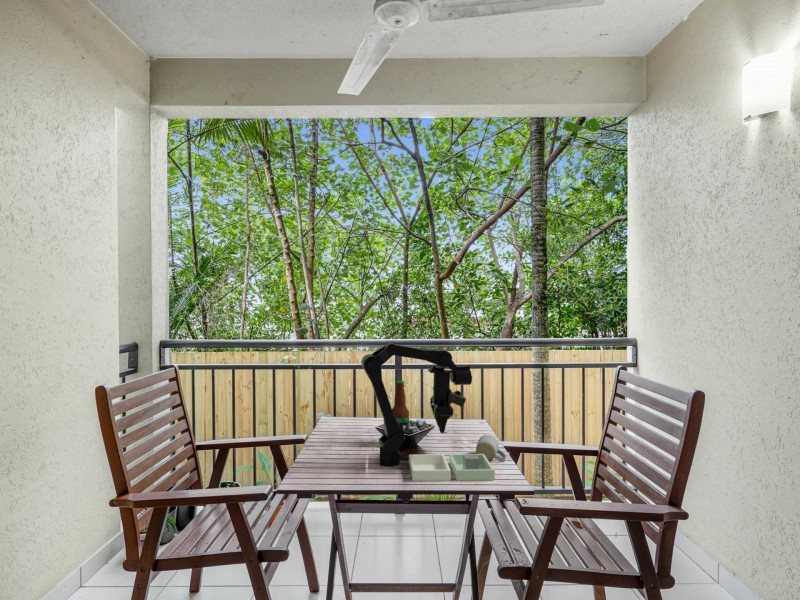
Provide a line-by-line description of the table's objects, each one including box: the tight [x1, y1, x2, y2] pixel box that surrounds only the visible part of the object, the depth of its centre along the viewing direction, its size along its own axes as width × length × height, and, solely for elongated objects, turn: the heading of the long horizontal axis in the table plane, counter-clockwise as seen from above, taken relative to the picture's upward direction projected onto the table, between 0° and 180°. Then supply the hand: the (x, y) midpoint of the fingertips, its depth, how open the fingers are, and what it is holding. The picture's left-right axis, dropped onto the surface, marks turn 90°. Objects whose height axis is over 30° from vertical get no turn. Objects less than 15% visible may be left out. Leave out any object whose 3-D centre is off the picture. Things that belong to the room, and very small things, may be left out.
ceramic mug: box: [475, 434, 507, 462], centre depth 186 cm, size 11×8×8 cm
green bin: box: [448, 453, 496, 482], centre depth 171 cm, size 12×16×4 cm
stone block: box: [462, 453, 479, 470], centre depth 171 cm, size 4×4×5 cm
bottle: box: [391, 380, 410, 431], centre depth 201 cm, size 7×7×25 cm
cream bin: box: [408, 453, 452, 482], centre depth 170 cm, size 12×16×4 cm
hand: (440, 429), depth 180 cm, fingers open, 9 cm apart
